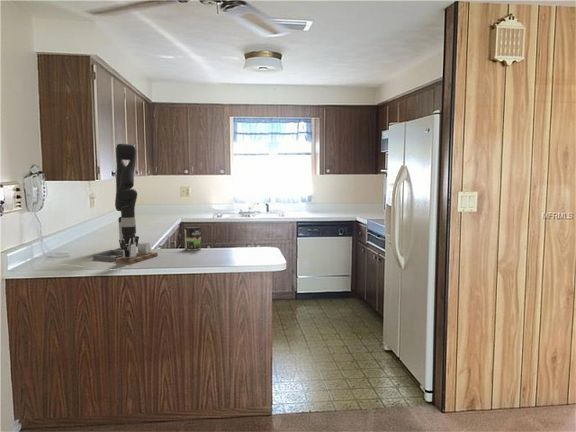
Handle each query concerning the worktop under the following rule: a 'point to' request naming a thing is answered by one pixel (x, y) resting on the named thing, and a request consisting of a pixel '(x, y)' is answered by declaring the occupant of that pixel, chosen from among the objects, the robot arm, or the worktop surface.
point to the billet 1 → (131, 251)
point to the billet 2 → (144, 248)
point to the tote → (108, 255)
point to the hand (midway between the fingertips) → (130, 255)
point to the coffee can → (192, 237)
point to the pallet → (137, 258)
